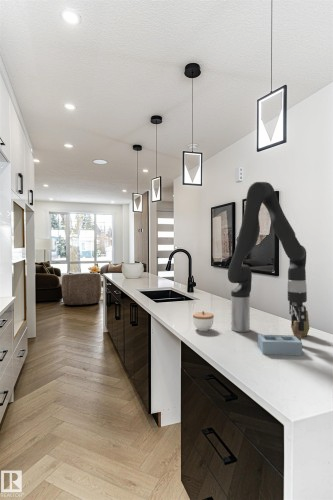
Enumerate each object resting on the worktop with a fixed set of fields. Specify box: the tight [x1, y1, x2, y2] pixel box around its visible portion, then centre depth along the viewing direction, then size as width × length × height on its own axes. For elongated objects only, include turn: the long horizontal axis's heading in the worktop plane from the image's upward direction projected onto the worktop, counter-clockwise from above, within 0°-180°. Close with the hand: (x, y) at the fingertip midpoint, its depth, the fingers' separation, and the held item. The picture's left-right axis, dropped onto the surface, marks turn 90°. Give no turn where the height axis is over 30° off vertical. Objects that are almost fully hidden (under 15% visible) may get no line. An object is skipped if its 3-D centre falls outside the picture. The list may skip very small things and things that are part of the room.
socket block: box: [257, 334, 303, 356], centre depth 118 cm, size 9×15×5 cm, turn 84°
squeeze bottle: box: [290, 302, 310, 338], centre depth 138 cm, size 8×8×18 cm
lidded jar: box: [192, 310, 215, 332], centre depth 149 cm, size 11×11×9 cm
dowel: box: [293, 321, 302, 342], centre depth 125 cm, size 3×3×10 cm
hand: (297, 328), depth 124 cm, fingers open, 8 cm apart
